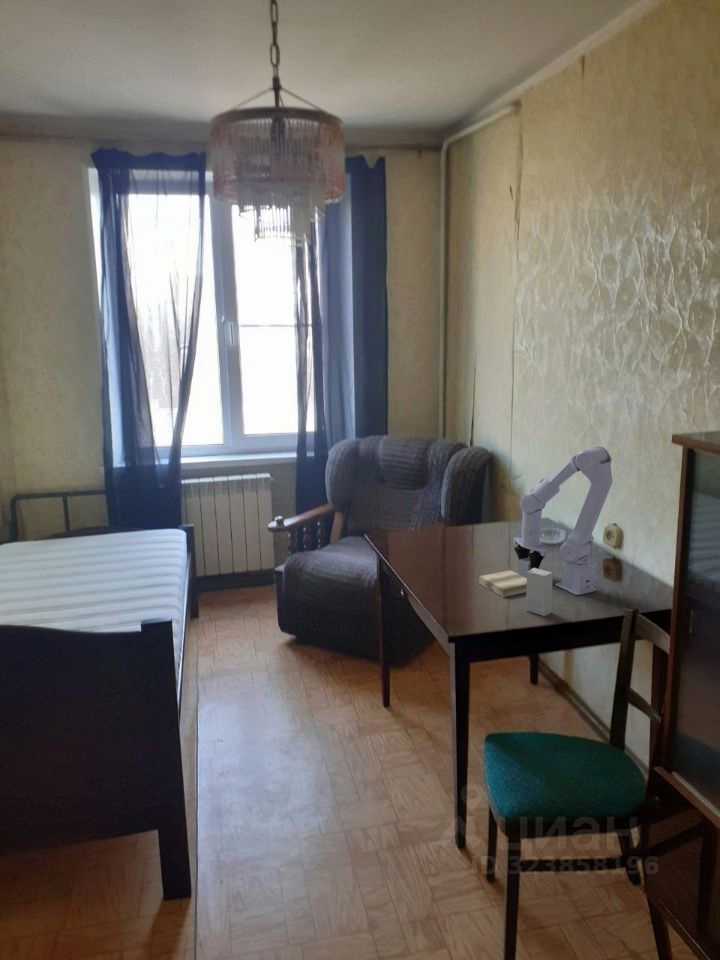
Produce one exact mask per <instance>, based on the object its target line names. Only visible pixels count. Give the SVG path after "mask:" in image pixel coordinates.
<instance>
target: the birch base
mask: <svg viewBox="0 0 720 960" xmlns="http://www.w3.org/2000/svg"><path fill="white" fill-rule="evenodd" d="M478 578H479V579H478V584H479V585H481V586H482V587H483V588H486V589H487V590H489V589H490V590H489V591H491V592H493V593H495V594H497V595H499V596H500V595H501V597H502V598H506V597H509V596H514V595H518V594H523V593H526V591H527V578H526V577H524V576H522V575H520V574H519V573H517V572H514V571H513V570H511V569H509V570H508V569H507V570H503V571H498V572H494V573H489V574H484V575H483V574H482V575H479V576H478Z"/></svg>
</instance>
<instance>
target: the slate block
mask: <svg viewBox="0 0 720 960" xmlns="http://www.w3.org/2000/svg"><path fill="white" fill-rule="evenodd" d="M529 570H531V564H530V558H529V557H528V558H523V559H518V574H519V575H521V576H523V577H525V578H527V571H529Z"/></svg>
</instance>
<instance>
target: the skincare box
mask: <svg viewBox="0 0 720 960" xmlns="http://www.w3.org/2000/svg"><path fill="white" fill-rule="evenodd" d="M553 574H554V573H553V572H551V571H548V570H544V569H540V568H539V569H537V568H533V569H531V570H529V571H527V591H526V592H525V593H526V594H525V595H526V598H525V600H526V601H525V611H527V612H529V613H532V614H536V615H540V616H542V617H546V616H548V615H549V614H551V613H552V603H553V602H552V601H553Z"/></svg>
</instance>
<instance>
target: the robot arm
mask: <svg viewBox="0 0 720 960" xmlns="http://www.w3.org/2000/svg"><path fill="white" fill-rule="evenodd" d="M612 461H613V459H612V457H611V455H610V453H609V451H608V449H606V448H605V447H603V446H594V447H593V448H588V449H583V450H580V451H579V452H577V454H575V455H573V456H572V457H570V459H569V460H568V461H567V462H566V464H564V465H563V467H561V468H560V469H559V471H557V472H556V474H554V475H553V476H552V478H551V477H546V478H542V479H540V480H539V484H538V485H537V486H536V487H534V488H532V489H530V490H529V492H530V493H529V494H524V495H522V497H521V498H520V500H519V507H520V509H521V510H522V522H521V523H522V524H521V525H522V526H521V537H519V536H516V537H513V541H512V543H513V544H514V545H517V546H515V547H514V551H515V553H516V554H517V558H518V560H519V559H523V558H530V564H531V569H533V568H537V569H540V566H541V564H542V563H543V562H542V561H543V560H544V558H545V557H546V556H548V555H549V549H548V548H546V547H544V545H542V542H541V526H542V515H543V514H542V513H543V509H544V508H545V507H546V504H547V503H548V502H550V501H551V500H552V499H553V497H555V496H556V495H557V494H558V493H559V492H560V486H561V485H562V484H564V483H565V482H567V480H569V479H570V478H571V477H573V475H575V474H576V473H577V472H581V473H582V474H583V475H584V476H585V477H586V478H587V479H588V481H590V487H589V490H588V492H587V494H586V497H585V500H584V503H583V505H582V508H581V510H580V513H579V515H578V518H577V521H576V523H575V526H574V528H573V530H572V531H571V532H570V534H569V535H568V536H567V538H566V541H564V543H562V544H561V545H560V547H559V554H560V556H561V557H562V561H563V562H562V577H561V581H560V582H557V583H555V586H556V587H558V588H561V589H563V590H564V591H566V592H569V593H571V594H574V595H575V596H580V595H585V594H588V593H593V592H596V591H597V589H596V588H595V582H596V569H595V567H594V566H592V565H591V564H590V562H589V555H590V554H591V553H592V552H593V549H594V547H593V546H594V545H593V542H594V539H595V537H594V535H593V532H594V530H595V527H596V524H597V522H598V519H599V517H600V514H601V512H602V509H603V507H604V504H605V502H606V501H607V500H606V499H607V498H608V494H609V492H610V489H611V487H612V484H613V475H612V474H613V473H612V466H611V464H612ZM531 551H533V552H531Z"/></svg>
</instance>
